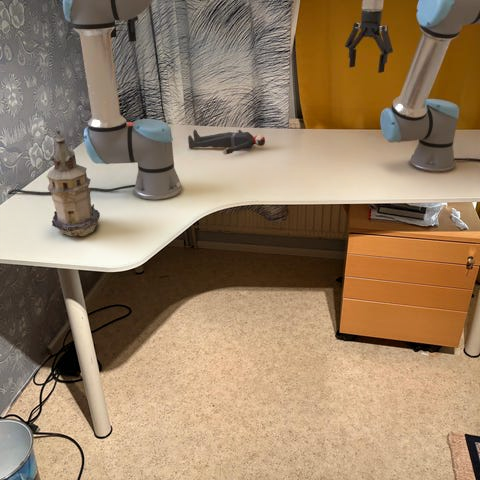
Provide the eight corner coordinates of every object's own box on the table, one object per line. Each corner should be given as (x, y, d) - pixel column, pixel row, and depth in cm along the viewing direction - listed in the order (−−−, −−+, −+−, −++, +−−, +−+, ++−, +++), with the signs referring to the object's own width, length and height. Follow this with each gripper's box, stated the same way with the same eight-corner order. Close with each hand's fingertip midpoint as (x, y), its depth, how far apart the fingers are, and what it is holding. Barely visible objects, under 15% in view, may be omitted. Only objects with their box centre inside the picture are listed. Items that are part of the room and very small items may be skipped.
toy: (199, 123, 225) (269, 123, 219) (200, 137, 228) (270, 138, 222) (181, 143, 203) (259, 144, 197) (183, 159, 206) (259, 160, 200)
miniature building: (80, 214, 164) (63, 117, 149) (111, 225, 157) (96, 125, 142) (44, 231, 154) (22, 130, 140) (75, 244, 147) (55, 139, 133)
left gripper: (144, -24, 183) (150, 41, 193) (106, -26, 199) (114, 34, 210) (125, -23, 179) (132, 44, 189) (88, -25, 195) (97, 36, 205)
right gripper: (407, 11, 191) (399, 72, 201) (351, 6, 207) (346, 63, 217) (395, 13, 186) (388, 76, 197) (338, 8, 203) (334, 66, 213)
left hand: (122, 39), depth 199 cm, fingers open, 13 cm apart
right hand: (366, 69), depth 207 cm, fingers open, 13 cm apart
